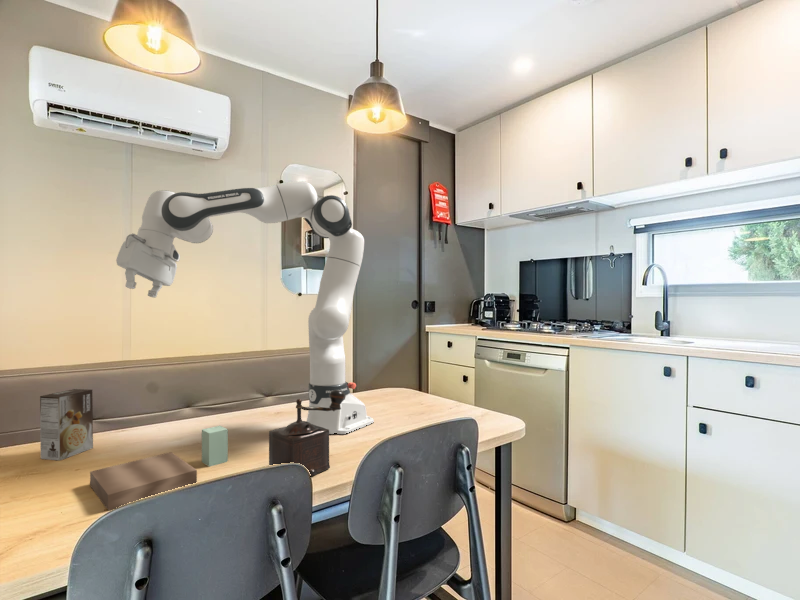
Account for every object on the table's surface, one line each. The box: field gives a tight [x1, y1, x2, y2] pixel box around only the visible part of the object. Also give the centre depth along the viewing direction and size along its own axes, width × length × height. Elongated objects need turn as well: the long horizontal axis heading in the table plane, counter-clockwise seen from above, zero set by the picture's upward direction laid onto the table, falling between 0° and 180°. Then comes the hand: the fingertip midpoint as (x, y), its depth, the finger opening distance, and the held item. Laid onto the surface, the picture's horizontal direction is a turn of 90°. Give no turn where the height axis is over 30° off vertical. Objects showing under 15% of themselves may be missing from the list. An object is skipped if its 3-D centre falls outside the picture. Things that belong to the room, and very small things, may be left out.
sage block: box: [201, 425, 229, 468], centre depth 102 cm, size 4×4×8 cm
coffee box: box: [39, 388, 94, 461], centre depth 108 cm, size 9×6×16 cm
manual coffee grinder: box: [268, 390, 346, 477], centre depth 99 cm, size 16×11×18 cm
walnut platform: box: [89, 451, 198, 512], centre depth 89 cm, size 16×16×3 cm
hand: (141, 292), depth 113 cm, fingers open, 8 cm apart
